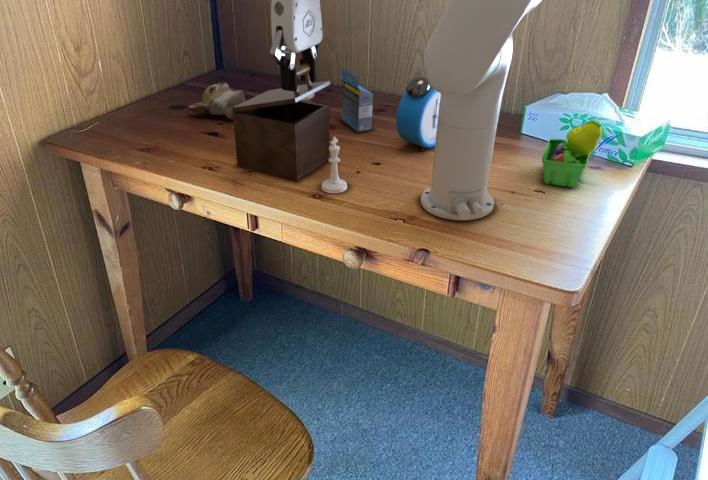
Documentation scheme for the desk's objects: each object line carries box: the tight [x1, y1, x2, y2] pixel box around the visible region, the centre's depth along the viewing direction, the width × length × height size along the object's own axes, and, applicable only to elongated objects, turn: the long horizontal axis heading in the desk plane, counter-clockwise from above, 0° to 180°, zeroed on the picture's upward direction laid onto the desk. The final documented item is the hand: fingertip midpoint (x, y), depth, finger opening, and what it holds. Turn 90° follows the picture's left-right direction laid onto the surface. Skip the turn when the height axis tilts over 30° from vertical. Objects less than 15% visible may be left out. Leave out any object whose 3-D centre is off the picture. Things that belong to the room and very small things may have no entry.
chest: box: [232, 100, 331, 182], centre depth 123 cm, size 15×12×11 cm
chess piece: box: [320, 136, 348, 194], centre depth 113 cm, size 5×5×10 cm
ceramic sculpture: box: [185, 80, 246, 121], centre depth 148 cm, size 11×9×15 cm
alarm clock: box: [395, 75, 441, 152], centre depth 127 cm, size 13×6×15 cm, turn 133°
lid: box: [232, 63, 332, 112], centre depth 117 cm, size 16×12×5 cm
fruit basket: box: [541, 119, 603, 188], centre depth 113 cm, size 11×9×11 cm
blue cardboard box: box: [341, 67, 374, 133], centre depth 139 cm, size 9×4×12 cm, turn 22°
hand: (299, 84), depth 114 cm, fingers closed on lid, 5 cm apart
